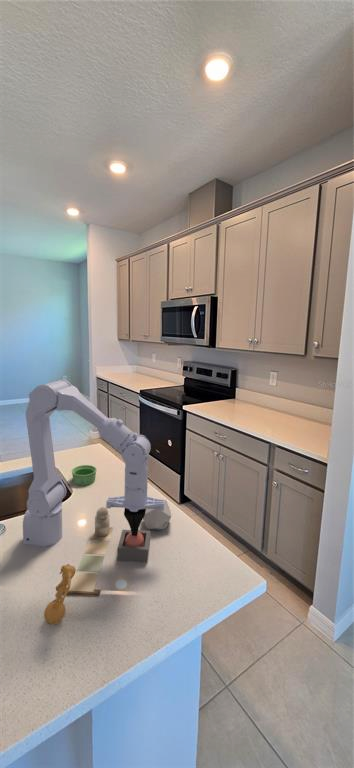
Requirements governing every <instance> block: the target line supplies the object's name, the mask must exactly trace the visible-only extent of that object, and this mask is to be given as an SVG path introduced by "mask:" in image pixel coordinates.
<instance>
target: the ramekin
mask: <svg viewBox="0 0 354 768" xmlns="http://www.w3.org/2000/svg"><path fill="white" fill-rule="evenodd" d="M71 473H72V475H71V476H72V481H73V482H72V483H74V484H75V485H77V484H78V485H77V486H89V485H91V484H93V483H94V482H95V481H96V475H97V474H96V473H97V468H96V467H95V466H94V465H89V464H83V465H78V466H75V467H73V468H72V469H71Z"/></svg>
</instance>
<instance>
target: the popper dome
mask: <svg viewBox="0 0 354 768" xmlns="http://www.w3.org/2000/svg"><path fill="white" fill-rule="evenodd" d="M125 546H134V547H144V546H145V545H144V537H143V535H142V534H141V533H140V532H138V534H137V536H132V533H129V534H128V535H127V537H126V539H125Z"/></svg>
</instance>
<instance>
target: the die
mask: <svg viewBox="0 0 354 768" xmlns="http://www.w3.org/2000/svg"><path fill="white" fill-rule="evenodd" d="M163 500H164V511H160V509H146V512H145V516H144V518H143V519H142V521H143V523H144V525H145V528H146V529H147V530H166V529H167V527H168V524H169V523H170V520H171V518H172V512H171V509H170V506H169V503H168V500H167V499H163Z"/></svg>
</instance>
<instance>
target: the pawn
mask: <svg viewBox="0 0 354 768" xmlns="http://www.w3.org/2000/svg"><path fill="white" fill-rule="evenodd" d="M110 517H111V516H110V514H109V510H108V508H106V507H104V506H102V507H99V508H98V509H97V510H96V515H95V517H94V528H95V535H96V536H97V537H105V536H107V535H108V534H109V527H110Z"/></svg>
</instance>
